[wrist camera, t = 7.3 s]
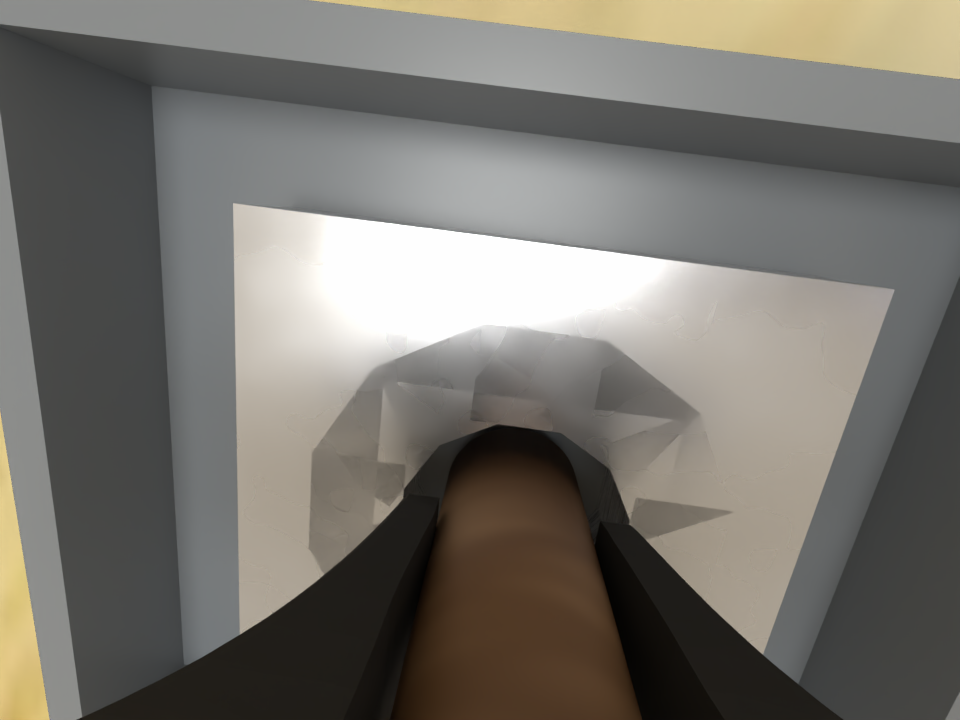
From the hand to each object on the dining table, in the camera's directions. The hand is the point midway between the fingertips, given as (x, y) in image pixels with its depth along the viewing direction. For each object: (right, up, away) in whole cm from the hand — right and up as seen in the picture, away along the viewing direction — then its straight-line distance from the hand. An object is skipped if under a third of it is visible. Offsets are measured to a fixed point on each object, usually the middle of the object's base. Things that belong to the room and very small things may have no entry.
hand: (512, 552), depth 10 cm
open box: (0, +1, +4) cm, 4 cm away
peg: (0, +1, +2) cm, 2 cm away
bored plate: (0, +1, +4) cm, 4 cm away
